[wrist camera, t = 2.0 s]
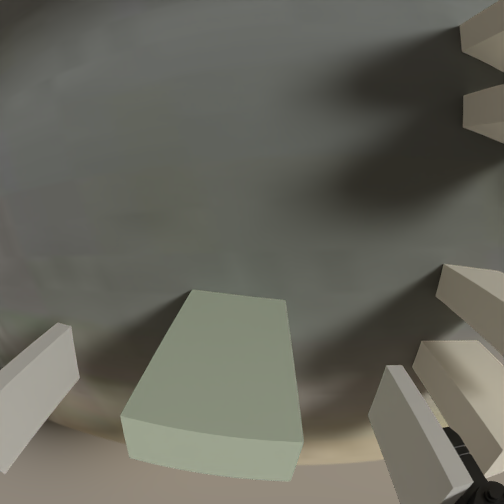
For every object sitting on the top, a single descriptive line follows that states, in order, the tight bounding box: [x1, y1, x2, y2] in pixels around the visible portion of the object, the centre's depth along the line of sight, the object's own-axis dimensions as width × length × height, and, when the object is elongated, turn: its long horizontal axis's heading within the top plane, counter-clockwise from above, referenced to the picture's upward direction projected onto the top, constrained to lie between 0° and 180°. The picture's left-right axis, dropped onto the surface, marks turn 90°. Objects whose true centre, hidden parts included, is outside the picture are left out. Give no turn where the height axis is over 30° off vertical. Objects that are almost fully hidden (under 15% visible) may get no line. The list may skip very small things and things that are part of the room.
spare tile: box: [120, 289, 304, 481], centre depth 12 cm, size 2×5×10 cm, turn 84°
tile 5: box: [412, 340, 504, 478], centre depth 13 cm, size 2×5×10 cm, turn 84°
